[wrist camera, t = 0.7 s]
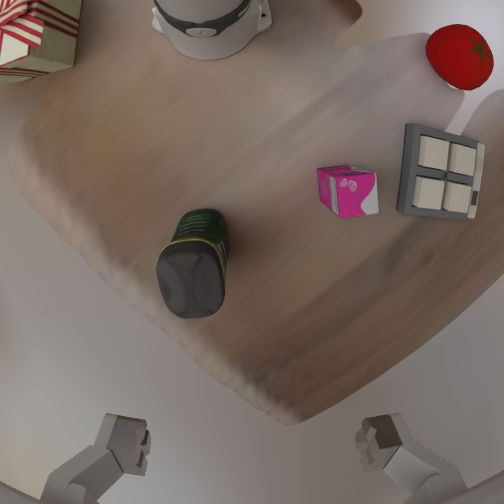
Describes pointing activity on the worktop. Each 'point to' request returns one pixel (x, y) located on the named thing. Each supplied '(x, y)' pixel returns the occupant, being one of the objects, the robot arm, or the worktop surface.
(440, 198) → the button
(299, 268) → the worktop surface
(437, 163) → the button
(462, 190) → the button
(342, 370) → the worktop surface
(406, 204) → the button board
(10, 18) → the gift box
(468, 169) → the button
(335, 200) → the supplement box
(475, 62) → the tomato
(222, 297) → the coffee jar
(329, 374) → the worktop surface
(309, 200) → the worktop surface
